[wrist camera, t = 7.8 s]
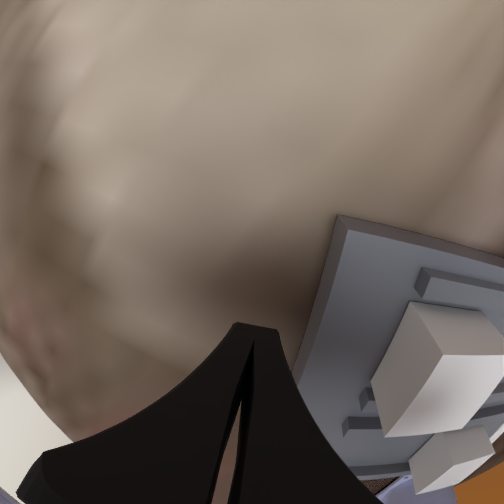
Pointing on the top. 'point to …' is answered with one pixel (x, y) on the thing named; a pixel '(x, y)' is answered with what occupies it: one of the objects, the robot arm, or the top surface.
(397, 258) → the switch board
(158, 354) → the top surface
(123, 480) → the robot arm
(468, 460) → the tab
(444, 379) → the tab
